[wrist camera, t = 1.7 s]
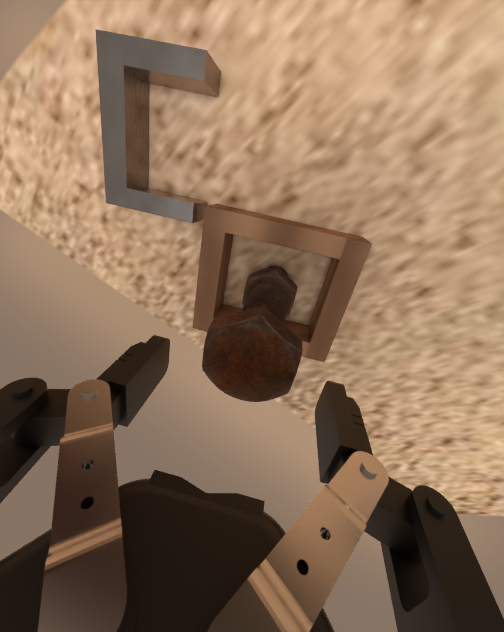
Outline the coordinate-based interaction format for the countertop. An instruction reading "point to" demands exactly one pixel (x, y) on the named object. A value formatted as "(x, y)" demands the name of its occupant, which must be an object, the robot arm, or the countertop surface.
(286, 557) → the robot arm
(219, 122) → the countertop surface
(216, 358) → the bolt
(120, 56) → the block
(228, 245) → the square frame block
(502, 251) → the countertop surface
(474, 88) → the countertop surface
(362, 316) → the countertop surface
